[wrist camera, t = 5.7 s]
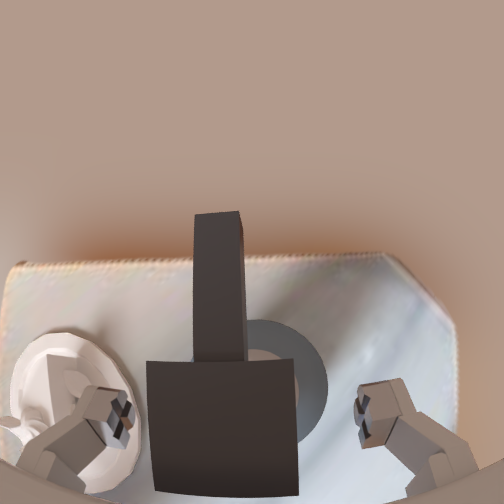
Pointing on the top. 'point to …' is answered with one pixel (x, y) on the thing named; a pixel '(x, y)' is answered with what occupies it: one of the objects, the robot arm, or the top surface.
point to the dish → (69, 399)
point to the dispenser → (305, 368)
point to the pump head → (222, 389)
